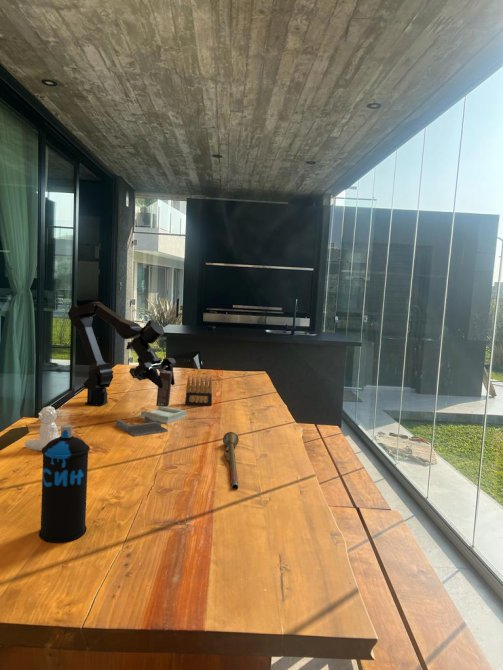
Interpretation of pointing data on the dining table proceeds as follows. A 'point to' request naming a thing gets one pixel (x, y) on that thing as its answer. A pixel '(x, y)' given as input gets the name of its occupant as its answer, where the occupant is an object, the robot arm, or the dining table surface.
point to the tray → (165, 414)
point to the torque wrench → (231, 455)
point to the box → (164, 389)
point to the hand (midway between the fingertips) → (167, 386)
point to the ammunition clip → (199, 392)
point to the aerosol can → (64, 488)
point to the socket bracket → (142, 427)
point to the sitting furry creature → (45, 429)
